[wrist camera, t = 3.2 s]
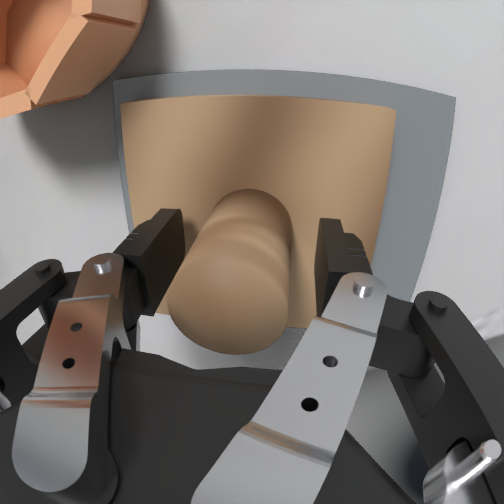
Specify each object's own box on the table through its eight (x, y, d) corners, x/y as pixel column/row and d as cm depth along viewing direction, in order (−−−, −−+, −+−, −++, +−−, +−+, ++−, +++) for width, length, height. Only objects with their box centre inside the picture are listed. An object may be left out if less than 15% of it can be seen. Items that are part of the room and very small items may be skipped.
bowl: (157, -84, 7) (111, -123, 3) (151, 86, 12) (92, 95, 8) (15, -26, 8) (-42, -31, 4) (12, 114, 13) (-48, 135, 9)
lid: (386, 107, 11) (463, 136, 5) (350, 314, 16) (365, 419, 10) (133, 100, 12) (30, 129, 6) (158, 297, 17) (110, 388, 11)
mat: (450, 96, 10) (456, 97, 10) (397, 324, 16) (399, 330, 16) (118, 80, 12) (112, 80, 11) (148, 303, 18) (145, 309, 17)
